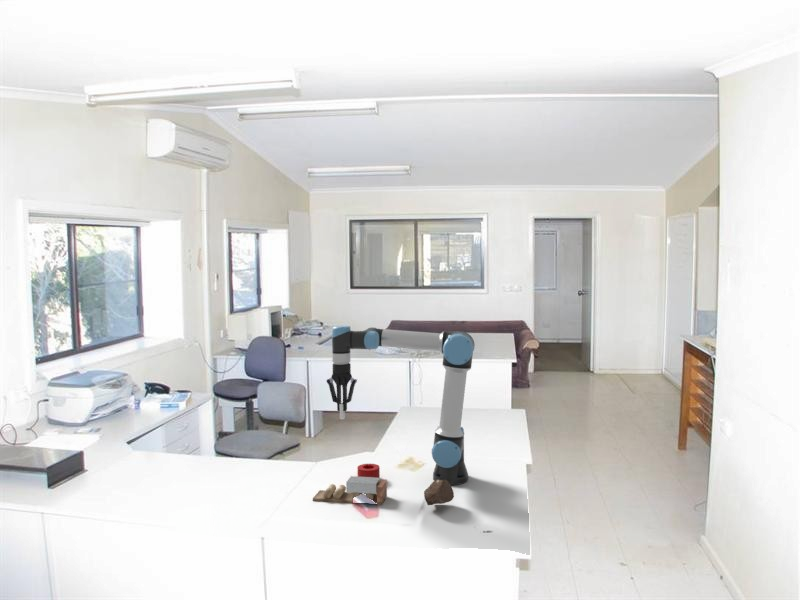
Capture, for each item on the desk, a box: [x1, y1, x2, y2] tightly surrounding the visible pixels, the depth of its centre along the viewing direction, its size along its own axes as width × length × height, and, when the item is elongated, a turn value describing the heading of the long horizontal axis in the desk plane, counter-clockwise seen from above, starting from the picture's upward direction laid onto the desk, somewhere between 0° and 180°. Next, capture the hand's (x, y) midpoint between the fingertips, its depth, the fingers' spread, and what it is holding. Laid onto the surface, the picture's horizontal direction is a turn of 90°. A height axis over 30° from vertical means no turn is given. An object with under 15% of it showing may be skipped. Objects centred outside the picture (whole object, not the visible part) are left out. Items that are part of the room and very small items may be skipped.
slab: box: [345, 475, 381, 494], centre depth 243 cm, size 12×7×4 cm, turn 79°
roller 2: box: [352, 493, 362, 499], centre depth 244 cm, size 8×3×3 cm
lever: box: [357, 463, 381, 479], centre depth 268 cm, size 18×9×7 cm, turn 18°
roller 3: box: [366, 493, 375, 500], centre depth 243 cm, size 8×3×3 cm
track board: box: [312, 478, 388, 506], centre depth 244 cm, size 28×9×7 cm, turn 79°
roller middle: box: [333, 484, 346, 499], centre depth 245 cm, size 8×3×3 cm
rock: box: [423, 480, 455, 506], centre depth 237 cm, size 12×10×10 cm
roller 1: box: [323, 483, 337, 499], centre depth 246 cm, size 8×3×3 cm
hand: (342, 418), depth 258 cm, fingers closed
